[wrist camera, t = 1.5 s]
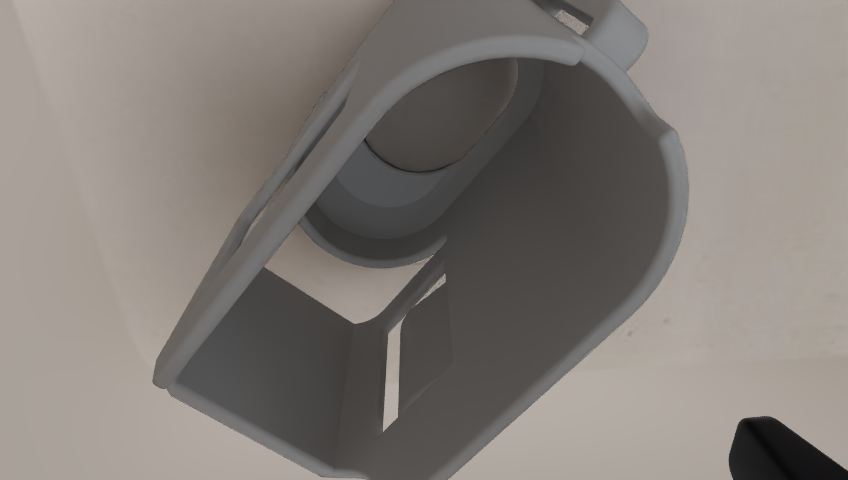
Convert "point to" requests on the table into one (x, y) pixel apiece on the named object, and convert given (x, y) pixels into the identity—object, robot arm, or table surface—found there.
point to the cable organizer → (442, 246)
